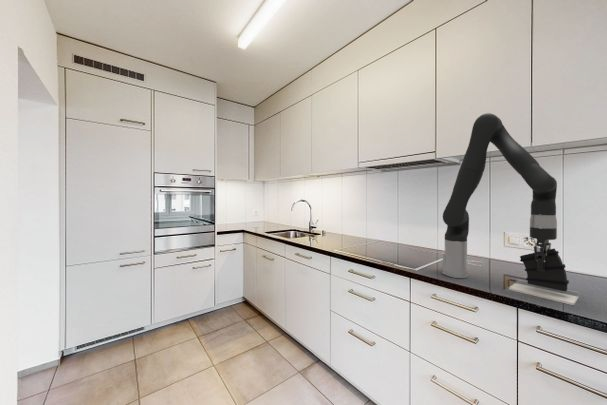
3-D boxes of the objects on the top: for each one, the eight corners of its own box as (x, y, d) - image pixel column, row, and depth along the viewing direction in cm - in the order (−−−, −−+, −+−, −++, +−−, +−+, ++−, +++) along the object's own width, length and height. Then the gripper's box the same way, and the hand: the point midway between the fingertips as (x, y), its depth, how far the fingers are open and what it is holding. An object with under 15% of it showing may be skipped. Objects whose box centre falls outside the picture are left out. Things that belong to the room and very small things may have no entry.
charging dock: (508, 289, 100) (508, 284, 100) (516, 284, 106) (516, 278, 106) (573, 305, 86) (573, 298, 86) (578, 298, 92) (578, 292, 92)
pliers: (481, 264, 132) (449, 259, 143) (481, 267, 133) (449, 262, 143) (484, 260, 139) (454, 256, 150) (484, 263, 139) (454, 258, 150)
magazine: (579, 290, 87) (553, 249, 92) (533, 295, 97) (513, 258, 102) (580, 287, 89) (556, 247, 94) (536, 293, 99) (515, 256, 104)
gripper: (534, 224, 102) (534, 264, 103) (524, 227, 94) (524, 271, 95) (560, 225, 96) (560, 269, 97) (552, 229, 88) (551, 276, 89)
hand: (542, 269), depth 96 cm, fingers closed on magazine, 3 cm apart
